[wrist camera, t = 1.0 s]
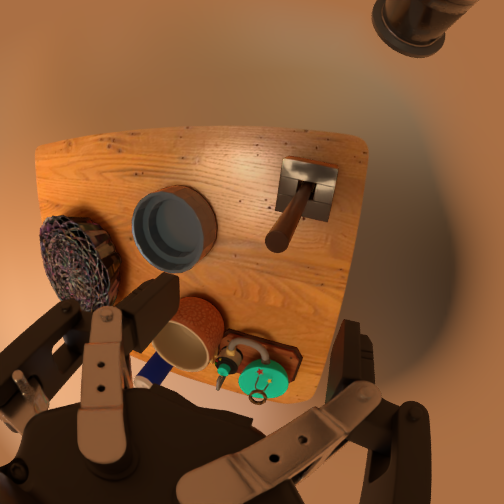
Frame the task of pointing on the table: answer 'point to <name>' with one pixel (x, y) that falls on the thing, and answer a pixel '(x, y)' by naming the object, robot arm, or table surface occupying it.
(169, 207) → the bowl
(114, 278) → the decorative bowl
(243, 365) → the contraption on wooden base
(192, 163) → the table surface
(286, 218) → the stirring stick
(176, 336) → the planter
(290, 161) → the holder
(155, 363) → the beverage can
